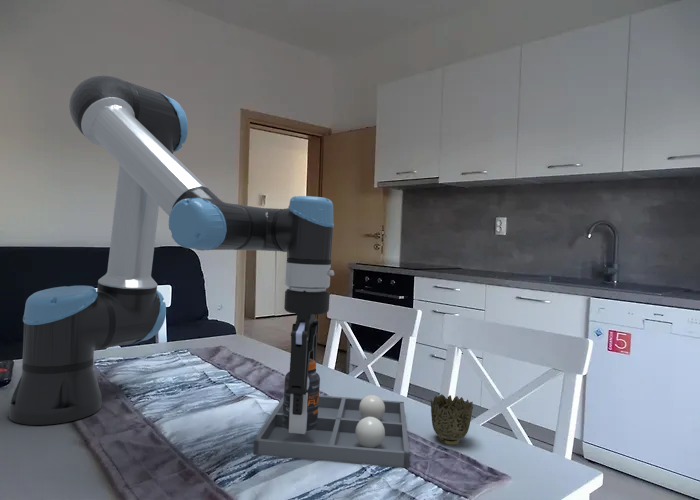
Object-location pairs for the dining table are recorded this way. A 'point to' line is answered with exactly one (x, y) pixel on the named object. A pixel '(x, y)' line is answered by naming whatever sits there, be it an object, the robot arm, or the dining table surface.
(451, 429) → the cup
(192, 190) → the robot arm
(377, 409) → the egg ball
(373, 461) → the egg tray
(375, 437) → the egg ball
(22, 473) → the dining table surface
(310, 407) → the pill bottle
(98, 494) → the dining table surface
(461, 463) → the dining table surface
